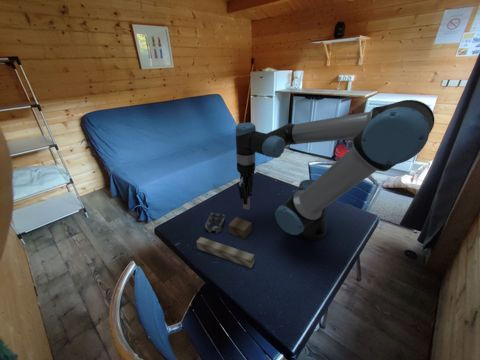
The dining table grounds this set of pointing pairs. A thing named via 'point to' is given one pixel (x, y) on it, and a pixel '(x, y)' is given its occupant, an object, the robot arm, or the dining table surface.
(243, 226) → the block
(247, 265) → the board
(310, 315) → the dining table surface
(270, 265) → the dining table surface
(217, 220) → the egg carton
